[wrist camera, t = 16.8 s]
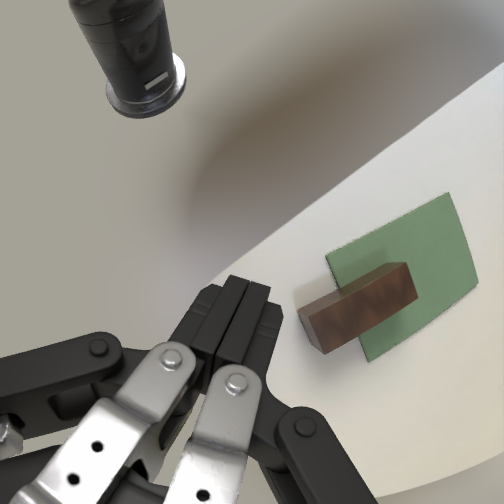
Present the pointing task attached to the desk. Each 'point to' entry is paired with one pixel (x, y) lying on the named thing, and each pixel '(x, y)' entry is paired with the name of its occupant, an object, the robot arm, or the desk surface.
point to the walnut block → (358, 306)
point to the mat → (412, 268)
